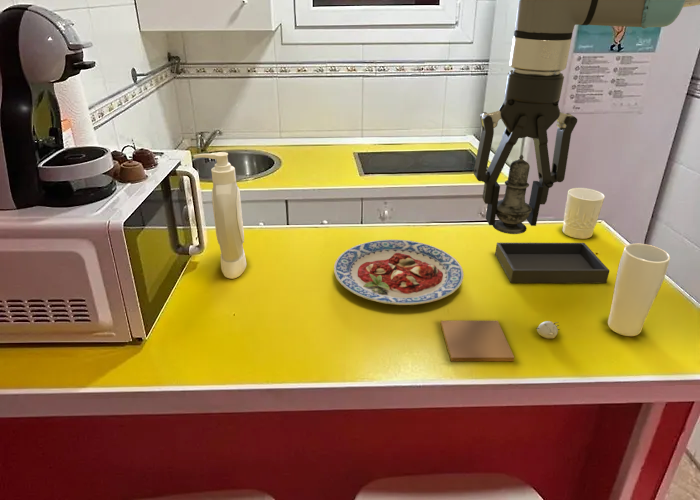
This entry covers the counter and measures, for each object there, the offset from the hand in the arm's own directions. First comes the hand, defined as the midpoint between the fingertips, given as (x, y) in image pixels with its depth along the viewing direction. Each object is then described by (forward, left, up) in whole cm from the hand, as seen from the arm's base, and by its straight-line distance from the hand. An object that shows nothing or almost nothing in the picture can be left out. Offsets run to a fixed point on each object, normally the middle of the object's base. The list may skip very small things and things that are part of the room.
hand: (510, 221), depth 83 cm
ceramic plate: (+16, -15, -19) cm, 29 cm away
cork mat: (+5, +6, -19) cm, 21 cm away
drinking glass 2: (-22, +2, -19) cm, 29 cm away
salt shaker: (0, 0, -1) cm, 1 cm away
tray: (-16, -19, -19) cm, 32 cm away
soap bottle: (+51, -19, -19) cm, 58 cm away
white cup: (-29, -36, -19) cm, 50 cm away
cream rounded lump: (-8, +4, -19) cm, 21 cm away
